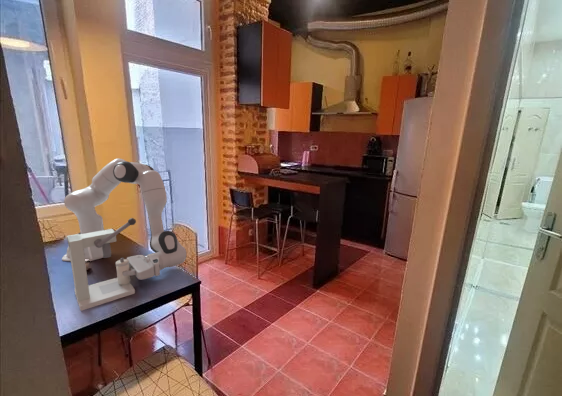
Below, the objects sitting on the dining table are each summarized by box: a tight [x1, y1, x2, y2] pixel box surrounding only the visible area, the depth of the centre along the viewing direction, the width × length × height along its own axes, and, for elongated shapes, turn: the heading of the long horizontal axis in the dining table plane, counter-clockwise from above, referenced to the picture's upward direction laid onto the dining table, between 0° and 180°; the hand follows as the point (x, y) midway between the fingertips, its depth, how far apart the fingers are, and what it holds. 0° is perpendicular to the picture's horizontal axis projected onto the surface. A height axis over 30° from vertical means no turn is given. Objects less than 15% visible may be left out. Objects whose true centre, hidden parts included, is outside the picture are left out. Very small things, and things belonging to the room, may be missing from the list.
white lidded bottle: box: [115, 257, 131, 285], centre depth 129 cm, size 5×5×12 cm
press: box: [66, 217, 137, 312], centre depth 123 cm, size 24×16×34 cm
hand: (120, 271), depth 128 cm, fingers closed on white lidded bottle, 5 cm apart
